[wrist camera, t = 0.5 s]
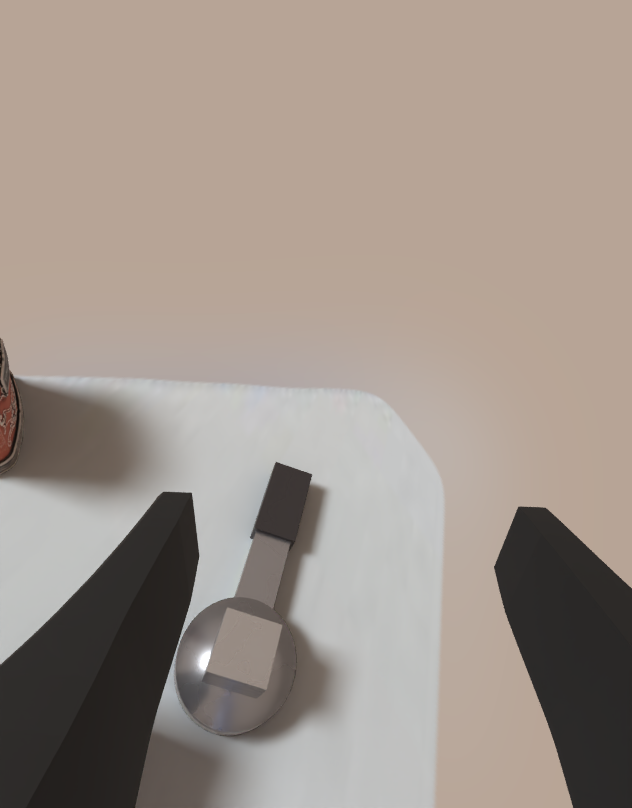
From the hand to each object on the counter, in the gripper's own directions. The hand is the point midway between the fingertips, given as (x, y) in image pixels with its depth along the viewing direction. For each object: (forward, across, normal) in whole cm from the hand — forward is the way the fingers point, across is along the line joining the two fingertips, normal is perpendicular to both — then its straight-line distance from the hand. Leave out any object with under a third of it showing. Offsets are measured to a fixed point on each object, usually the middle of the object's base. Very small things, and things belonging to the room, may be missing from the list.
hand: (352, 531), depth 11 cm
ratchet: (+10, +3, +16) cm, 19 cm away
